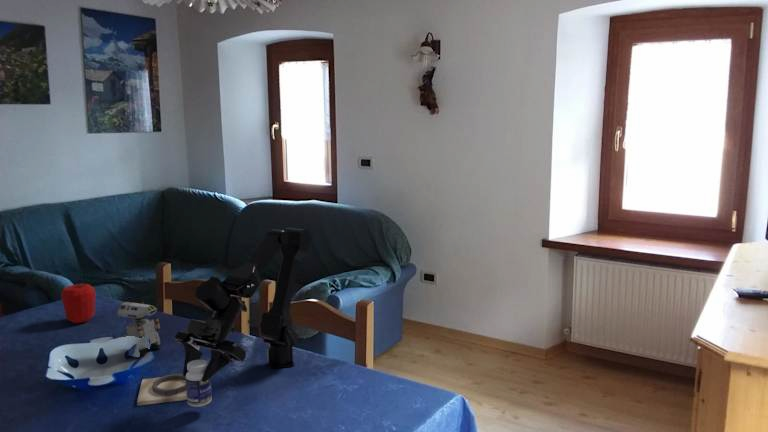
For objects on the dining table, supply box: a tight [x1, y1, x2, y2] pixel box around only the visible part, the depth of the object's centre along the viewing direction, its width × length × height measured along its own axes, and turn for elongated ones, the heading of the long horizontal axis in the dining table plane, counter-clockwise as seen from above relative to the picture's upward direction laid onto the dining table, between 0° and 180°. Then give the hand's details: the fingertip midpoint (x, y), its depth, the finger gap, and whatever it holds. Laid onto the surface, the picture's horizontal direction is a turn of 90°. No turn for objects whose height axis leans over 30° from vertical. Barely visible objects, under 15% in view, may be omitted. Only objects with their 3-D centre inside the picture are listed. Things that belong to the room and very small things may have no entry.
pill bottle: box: [186, 359, 213, 408], centre depth 150 cm, size 6×6×10 cm
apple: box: [61, 282, 96, 325], centre depth 211 cm, size 11×10×14 cm
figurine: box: [112, 301, 162, 350], centre depth 186 cm, size 9×12×15 cm
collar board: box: [136, 373, 187, 407], centre depth 162 cm, size 16×13×2 cm
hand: (193, 378), depth 148 cm, fingers closed on pill bottle, 6 cm apart
